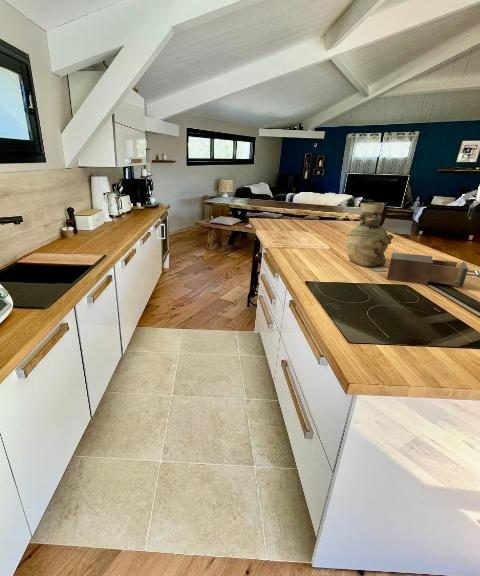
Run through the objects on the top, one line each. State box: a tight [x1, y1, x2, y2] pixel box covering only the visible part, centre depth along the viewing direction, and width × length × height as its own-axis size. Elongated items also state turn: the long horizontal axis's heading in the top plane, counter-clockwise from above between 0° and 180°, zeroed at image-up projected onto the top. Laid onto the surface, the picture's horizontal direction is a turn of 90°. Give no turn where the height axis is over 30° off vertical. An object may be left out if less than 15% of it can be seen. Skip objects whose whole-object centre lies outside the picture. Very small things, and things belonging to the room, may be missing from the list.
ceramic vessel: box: [346, 202, 394, 268], centre depth 157 cm, size 19×21×30 cm
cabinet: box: [386, 251, 434, 286], centre depth 137 cm, size 15×13×10 cm
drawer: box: [428, 258, 480, 289], centre depth 129 cm, size 18×11×8 cm, turn 56°
